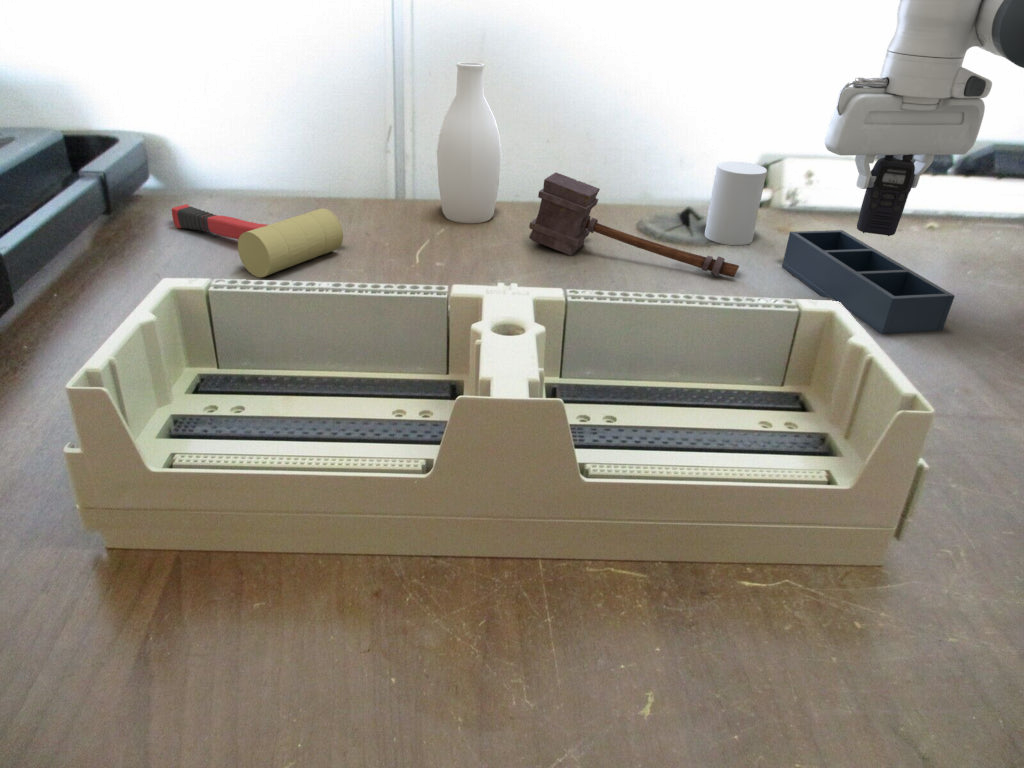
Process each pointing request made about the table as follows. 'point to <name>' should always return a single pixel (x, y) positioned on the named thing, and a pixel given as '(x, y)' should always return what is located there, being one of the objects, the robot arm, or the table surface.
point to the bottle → (469, 151)
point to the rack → (866, 282)
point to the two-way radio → (886, 195)
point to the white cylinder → (735, 202)
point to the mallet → (269, 237)
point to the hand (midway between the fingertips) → (886, 187)
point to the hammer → (596, 225)
